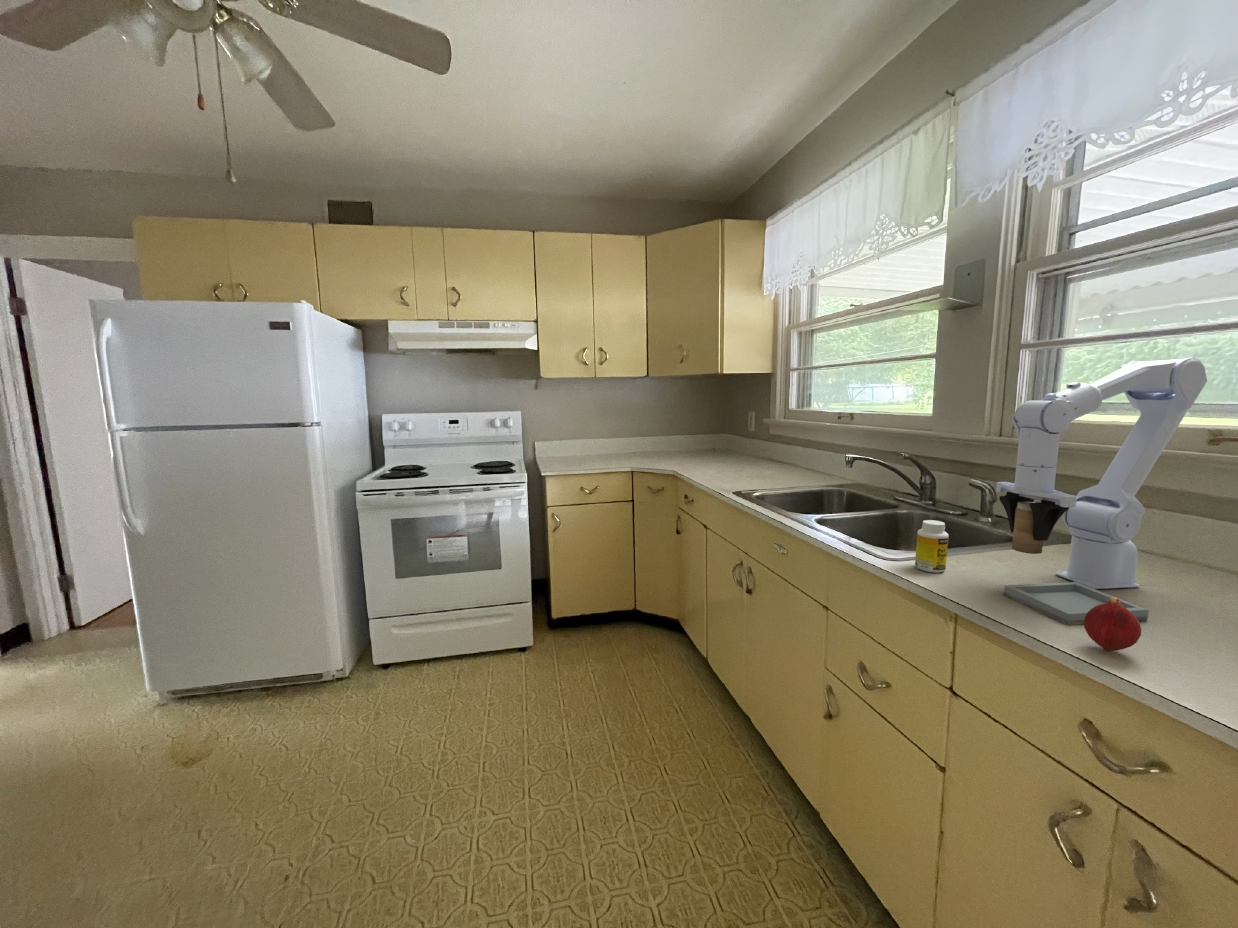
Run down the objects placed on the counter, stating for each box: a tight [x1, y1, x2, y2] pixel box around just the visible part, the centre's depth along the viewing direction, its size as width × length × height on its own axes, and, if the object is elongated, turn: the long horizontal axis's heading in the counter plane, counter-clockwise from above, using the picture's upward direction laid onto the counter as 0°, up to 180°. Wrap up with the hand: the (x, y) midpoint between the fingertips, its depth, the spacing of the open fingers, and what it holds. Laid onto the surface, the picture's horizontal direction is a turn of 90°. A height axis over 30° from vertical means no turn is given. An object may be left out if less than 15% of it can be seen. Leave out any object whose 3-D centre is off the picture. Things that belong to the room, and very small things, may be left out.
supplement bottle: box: [914, 519, 950, 574], centre depth 104 cm, size 6×6×10 cm
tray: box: [1003, 581, 1150, 625], centre depth 85 cm, size 14×12×2 cm
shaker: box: [1011, 501, 1044, 555], centre depth 93 cm, size 4×4×9 cm
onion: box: [1083, 596, 1142, 652], centre depth 70 cm, size 6×6×8 cm
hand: (1028, 536), depth 93 cm, fingers closed on shaker, 4 cm apart
